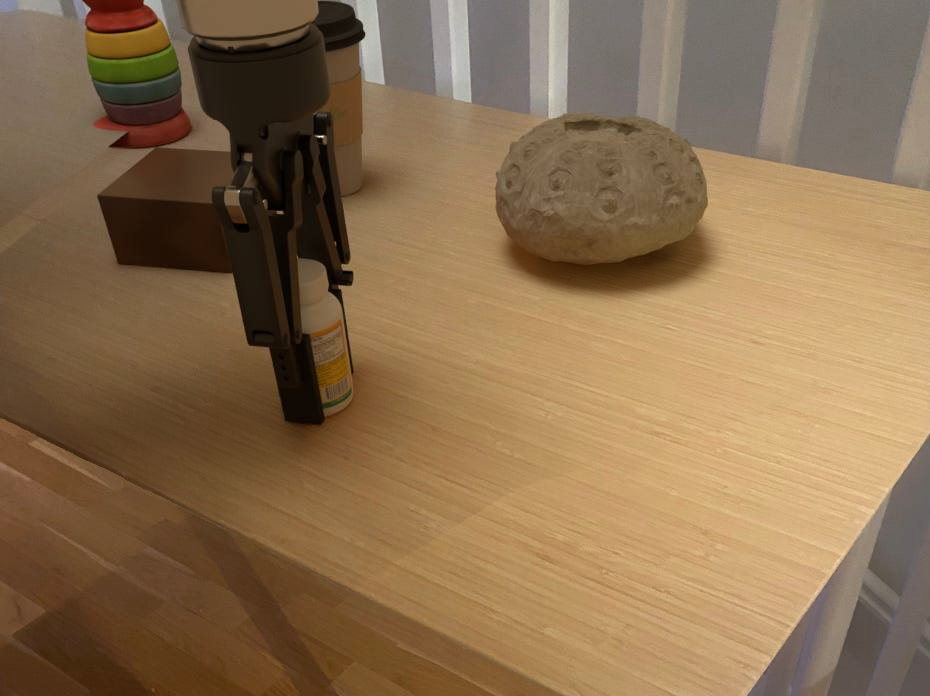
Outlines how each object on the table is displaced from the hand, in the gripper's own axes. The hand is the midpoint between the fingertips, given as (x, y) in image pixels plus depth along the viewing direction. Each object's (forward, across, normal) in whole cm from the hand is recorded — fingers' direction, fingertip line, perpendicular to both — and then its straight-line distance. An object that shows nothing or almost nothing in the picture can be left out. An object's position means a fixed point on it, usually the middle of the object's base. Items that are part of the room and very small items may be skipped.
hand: (320, 395), depth 71 cm
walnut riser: (0, +23, +20) cm, 31 cm away
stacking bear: (0, +48, +38) cm, 61 cm away
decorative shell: (+1, +28, -16) cm, 32 cm away
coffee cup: (0, +37, +12) cm, 39 cm away
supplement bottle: (+1, 0, 0) cm, 1 cm away
